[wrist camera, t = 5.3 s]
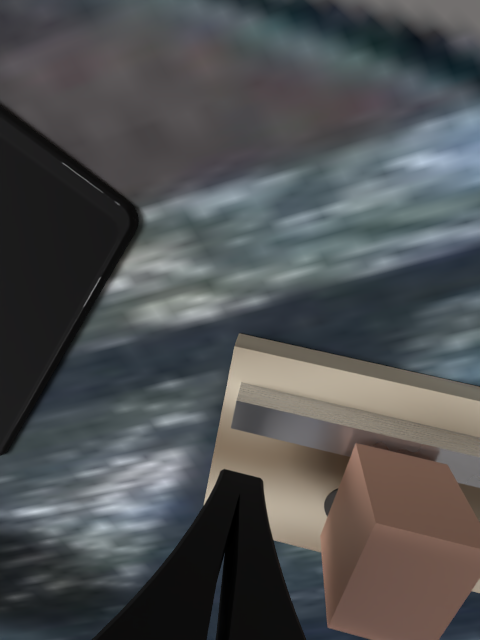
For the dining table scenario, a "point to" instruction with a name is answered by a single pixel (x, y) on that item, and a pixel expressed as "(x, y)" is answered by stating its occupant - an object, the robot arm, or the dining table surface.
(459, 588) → the brownish pink rectangular block
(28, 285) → the smartphone
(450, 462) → the divider bar
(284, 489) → the hole plate
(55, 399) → the dining table surface
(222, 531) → the robot arm
